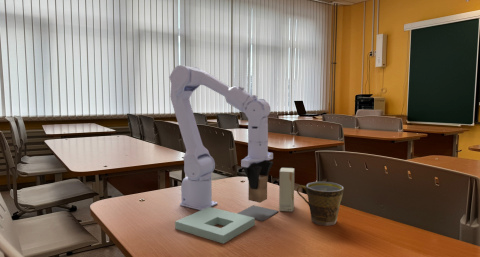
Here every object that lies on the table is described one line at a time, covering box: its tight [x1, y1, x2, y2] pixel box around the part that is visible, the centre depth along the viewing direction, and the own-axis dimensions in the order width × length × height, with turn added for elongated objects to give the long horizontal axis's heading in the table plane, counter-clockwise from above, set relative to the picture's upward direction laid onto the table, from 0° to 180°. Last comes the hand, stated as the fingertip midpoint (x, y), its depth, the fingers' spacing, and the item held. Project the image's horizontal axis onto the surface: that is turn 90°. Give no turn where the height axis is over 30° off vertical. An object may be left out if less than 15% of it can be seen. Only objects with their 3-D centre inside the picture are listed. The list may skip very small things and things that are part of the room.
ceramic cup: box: [296, 181, 345, 227], centre depth 96 cm, size 13×10×10 cm
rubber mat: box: [236, 205, 279, 222], centre depth 102 cm, size 9×9×1 cm
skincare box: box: [278, 167, 295, 212], centre depth 106 cm, size 6×4×12 cm
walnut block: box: [248, 175, 268, 203], centre depth 101 cm, size 4×4×7 cm
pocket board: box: [174, 206, 256, 244], centre depth 92 cm, size 16×14×2 cm
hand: (257, 186), depth 101 cm, fingers closed on walnut block, 4 cm apart
